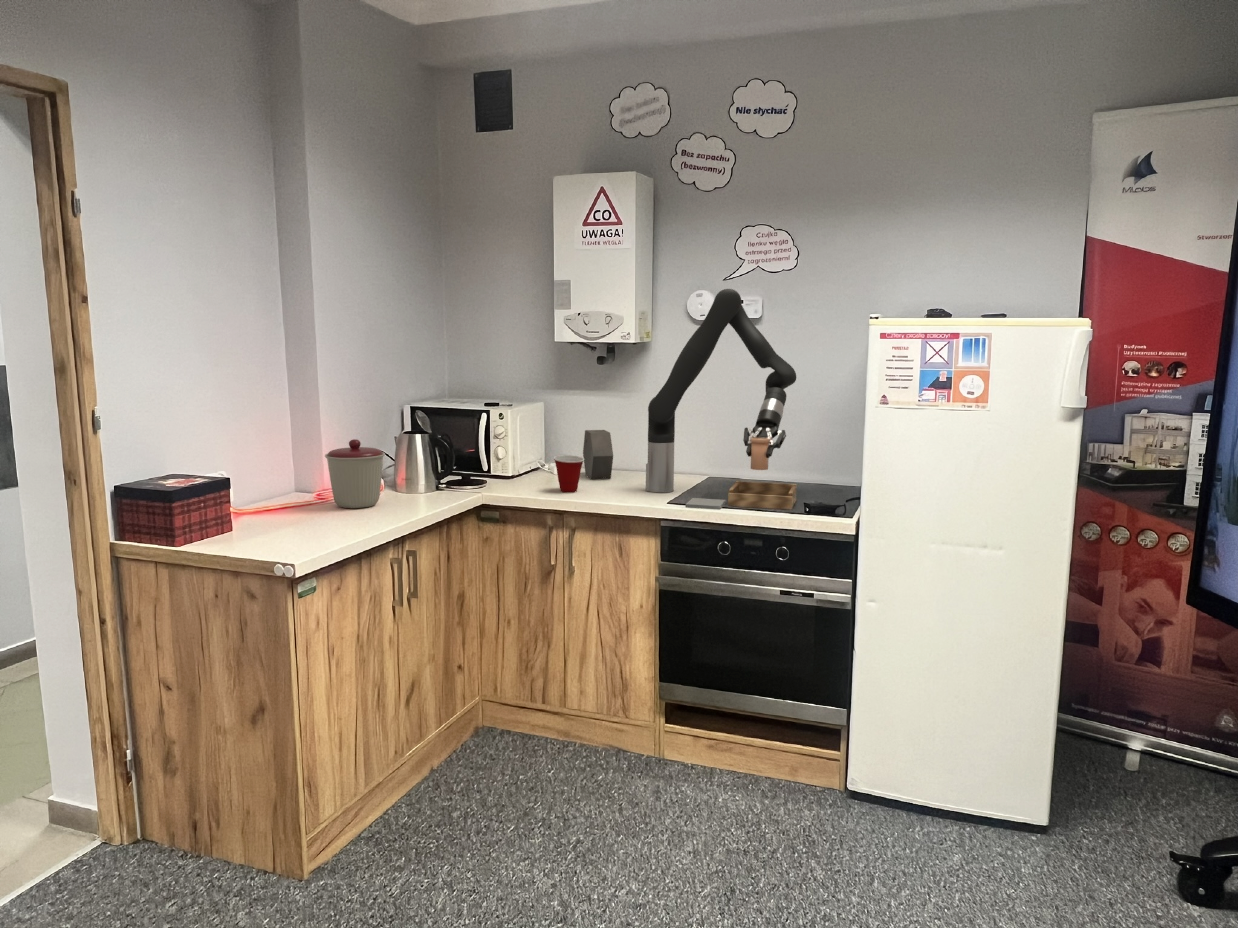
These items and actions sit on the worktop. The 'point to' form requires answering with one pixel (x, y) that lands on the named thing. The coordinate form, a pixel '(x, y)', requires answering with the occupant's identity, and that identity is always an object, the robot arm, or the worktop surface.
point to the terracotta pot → (759, 453)
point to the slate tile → (705, 503)
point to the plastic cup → (568, 471)
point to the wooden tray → (762, 495)
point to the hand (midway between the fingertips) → (758, 455)
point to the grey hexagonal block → (598, 454)
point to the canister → (355, 475)
